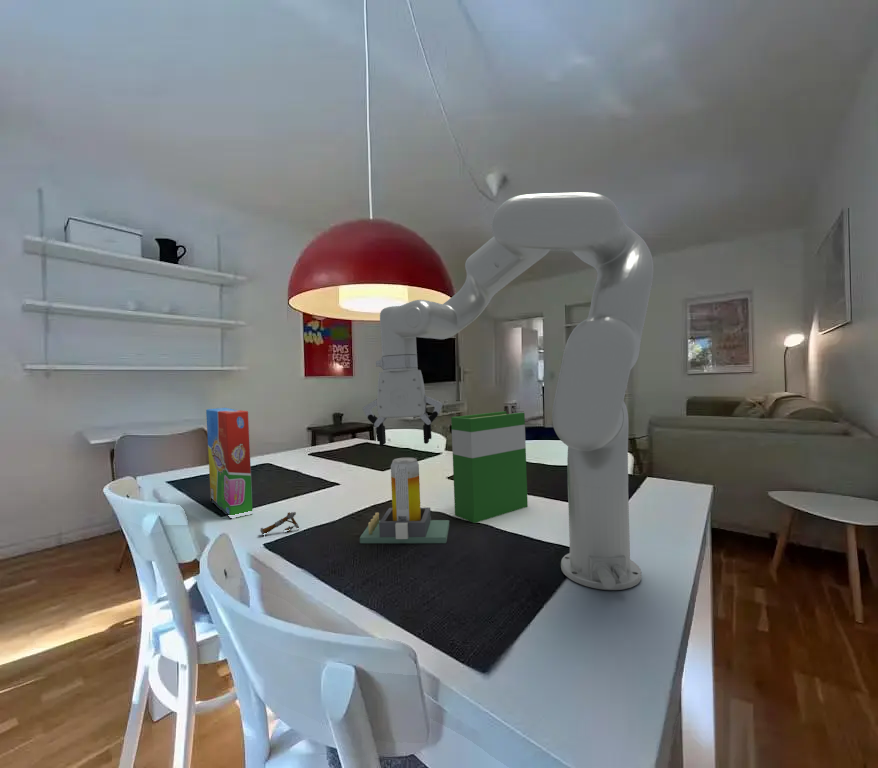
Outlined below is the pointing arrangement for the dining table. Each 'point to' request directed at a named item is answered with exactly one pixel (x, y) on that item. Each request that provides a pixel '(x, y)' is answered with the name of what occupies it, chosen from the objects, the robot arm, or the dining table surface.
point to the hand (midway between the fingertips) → (404, 443)
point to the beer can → (405, 489)
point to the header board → (405, 529)
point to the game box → (229, 459)
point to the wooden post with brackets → (280, 522)
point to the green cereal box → (489, 465)
